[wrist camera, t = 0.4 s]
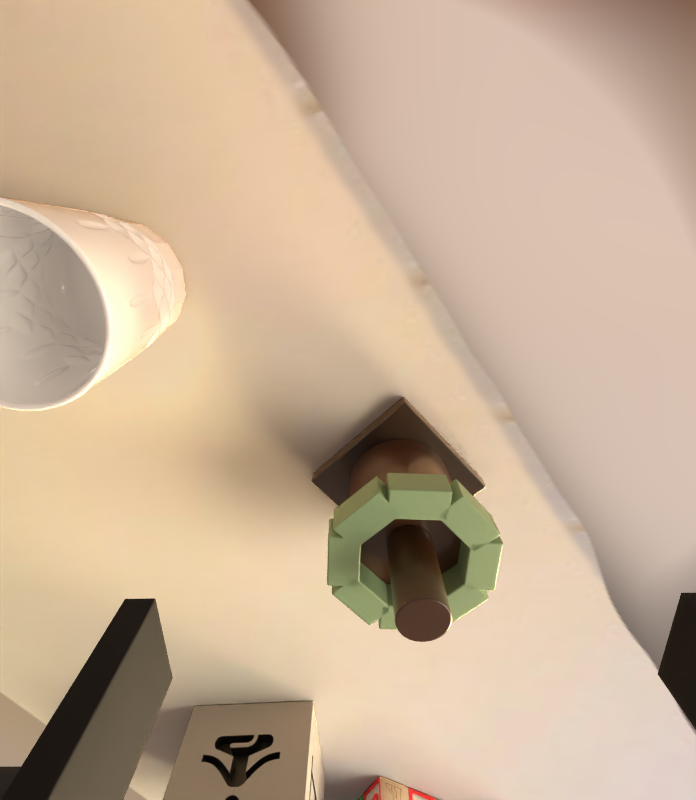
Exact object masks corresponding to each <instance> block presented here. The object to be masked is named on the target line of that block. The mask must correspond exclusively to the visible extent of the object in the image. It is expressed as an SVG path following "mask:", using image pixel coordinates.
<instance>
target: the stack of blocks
mask: <svg viewBox="0 0 696 800" xmlns="http://www.w3.org/2000/svg"><path fill="white" fill-rule="evenodd" d="M359 800H436V799H435V798H433V797H430V796H428V795H426V794H423V793H421V792H418V791H416V790H413V789H411V788H407V787H406V786H404V785H402V784H399V783H397V782H394V781H391V780H389V779H386V778H384V777H379V778H378V779H377V780H376V781H375V782H374V783H373V784H372V785H371V786H370V787H369V789H368V790H367V791H366V792H365V793H364V795H363V796H362V797H361V798H360V799H359Z"/></svg>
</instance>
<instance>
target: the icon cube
mask: <svg viewBox="0 0 696 800" xmlns="http://www.w3.org/2000/svg"><path fill="white" fill-rule="evenodd" d="M324 780H325V779H324V772H323V765H322V758H321V751H320V744H319V737H318V731H317V724H316V717H315V710H314V703H313V701H300V702H277V703H254V704H231V705H208V706H194V708H193V711H192V714H191V717H190V720H189V723H188V726H187V729H186V732H185V735H184V738H183V741H182V744H181V747H180V750H179V753H178V756H177V759H176V762H175V765H174V768H173V771H172V774H171V777H170V780H169V783H168V786H167V789H166V792H165V795H164V798H163V800H323V799H324Z"/></svg>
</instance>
